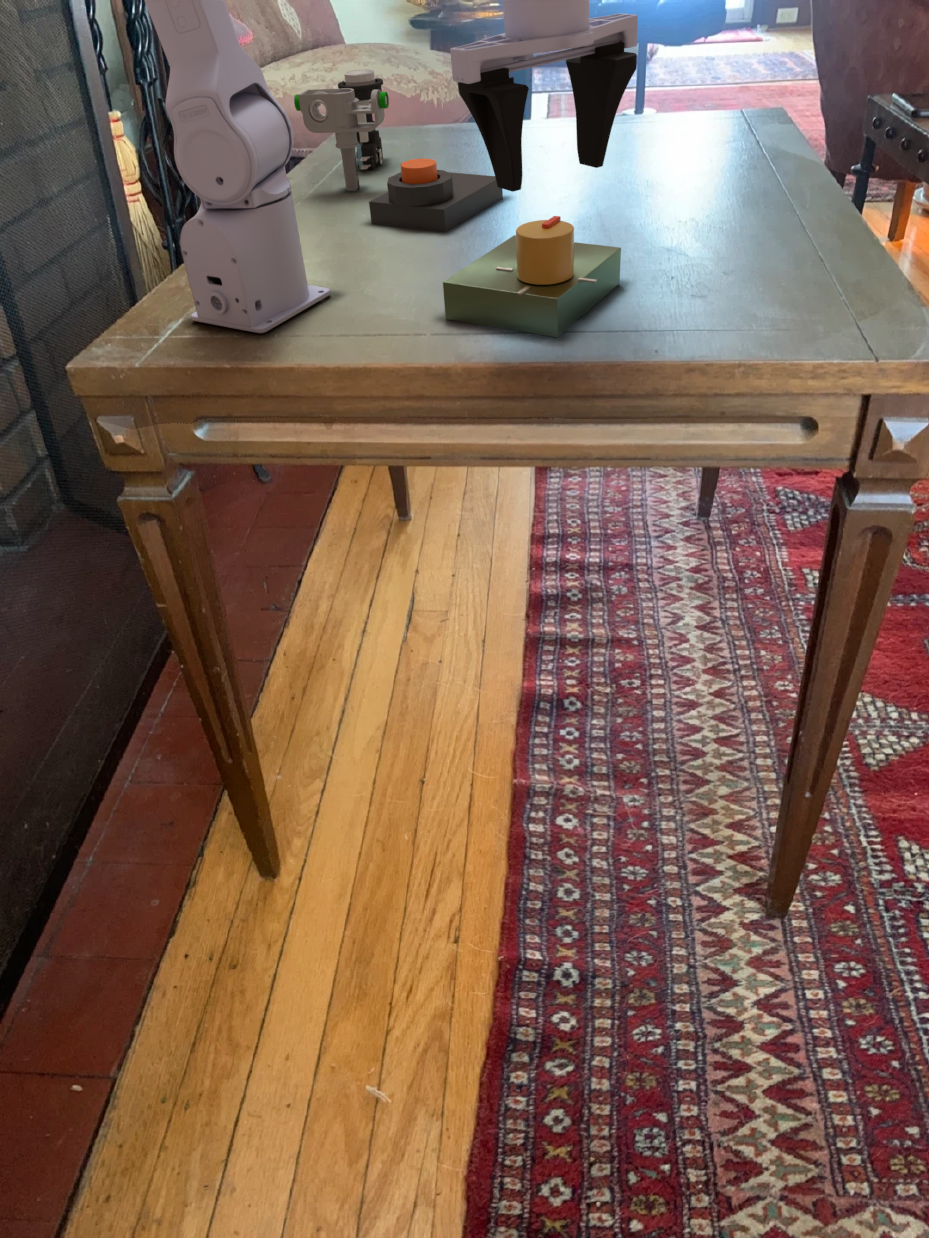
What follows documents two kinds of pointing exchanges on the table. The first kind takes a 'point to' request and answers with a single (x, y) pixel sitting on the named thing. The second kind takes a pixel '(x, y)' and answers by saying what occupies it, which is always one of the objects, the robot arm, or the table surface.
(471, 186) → the box
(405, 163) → the button
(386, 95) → the mechanical component
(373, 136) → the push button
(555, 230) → the dial knob
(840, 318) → the table surface
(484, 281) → the block
